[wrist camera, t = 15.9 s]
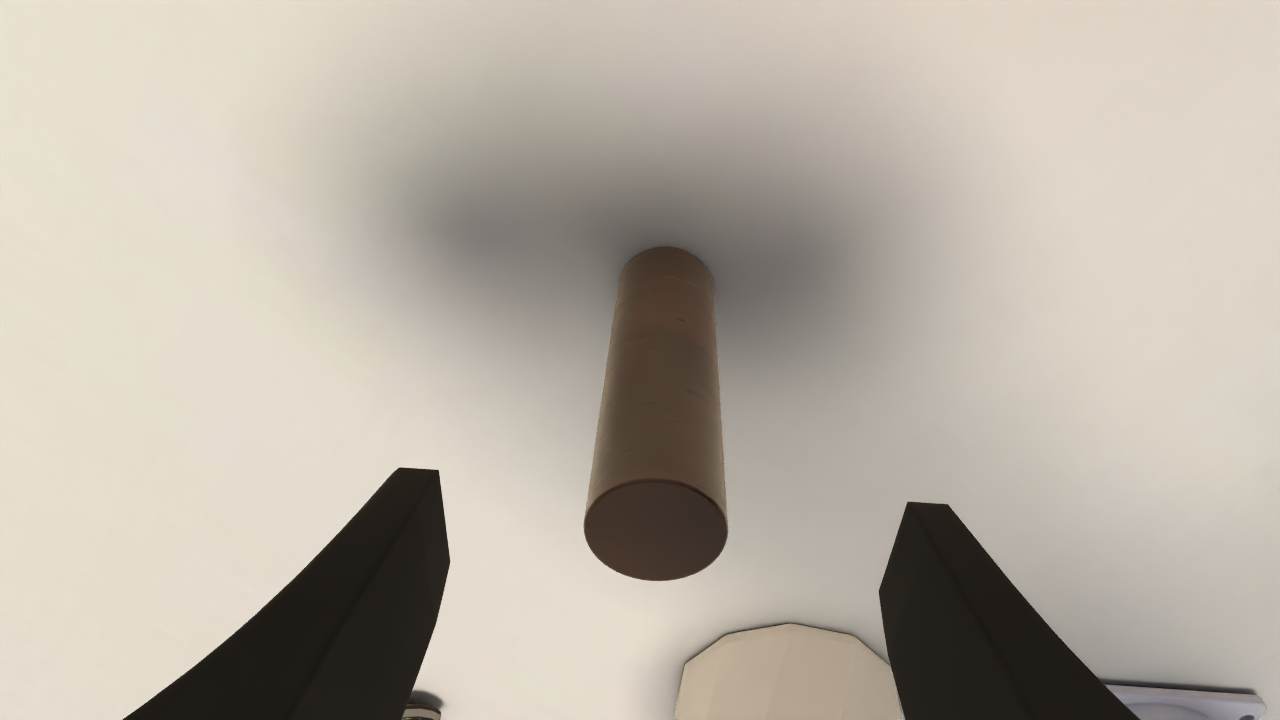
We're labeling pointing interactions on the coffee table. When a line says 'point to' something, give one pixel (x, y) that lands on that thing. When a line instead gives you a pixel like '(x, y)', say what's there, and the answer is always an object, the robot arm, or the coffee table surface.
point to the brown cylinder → (660, 425)
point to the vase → (787, 678)
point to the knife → (421, 712)
